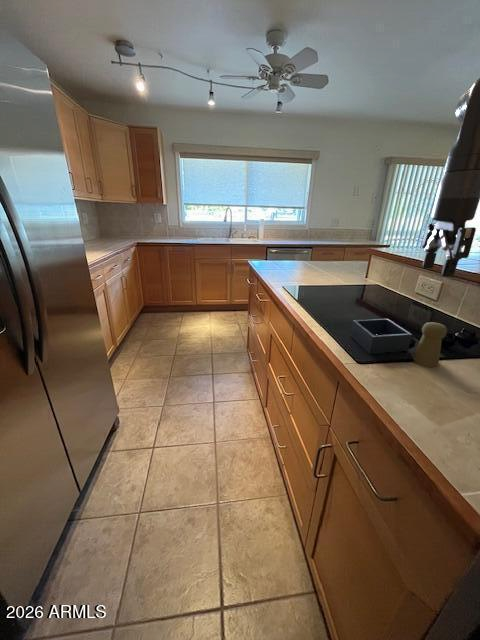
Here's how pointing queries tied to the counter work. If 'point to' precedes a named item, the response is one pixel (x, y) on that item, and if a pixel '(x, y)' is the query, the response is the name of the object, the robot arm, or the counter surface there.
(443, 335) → the cork
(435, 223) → the robot arm
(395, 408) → the counter surface
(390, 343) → the bin
